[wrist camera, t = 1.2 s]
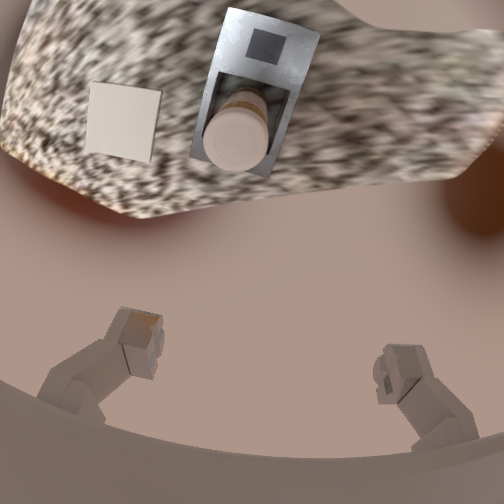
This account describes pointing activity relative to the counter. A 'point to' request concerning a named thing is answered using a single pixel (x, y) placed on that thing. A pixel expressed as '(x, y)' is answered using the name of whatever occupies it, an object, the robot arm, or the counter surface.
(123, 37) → the counter surface
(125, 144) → the plate
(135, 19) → the counter surface
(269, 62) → the grey open box
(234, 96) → the sprinkles bottle
